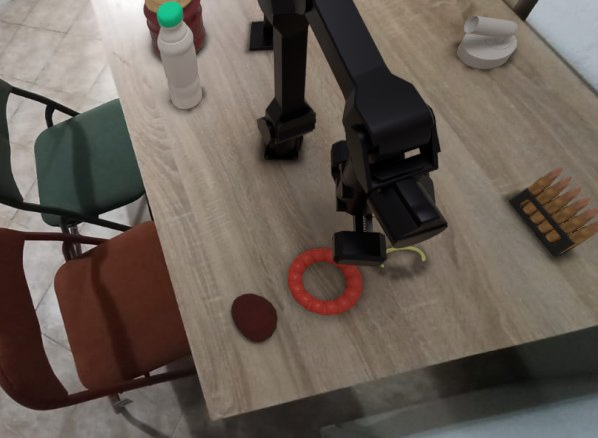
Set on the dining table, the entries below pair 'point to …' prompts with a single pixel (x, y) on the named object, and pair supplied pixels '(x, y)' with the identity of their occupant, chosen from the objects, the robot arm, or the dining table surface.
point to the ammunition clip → (555, 213)
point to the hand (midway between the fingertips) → (345, 223)
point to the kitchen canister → (190, 17)
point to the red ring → (316, 305)
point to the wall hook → (487, 42)
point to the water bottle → (178, 56)
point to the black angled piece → (261, 35)
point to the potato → (254, 316)
